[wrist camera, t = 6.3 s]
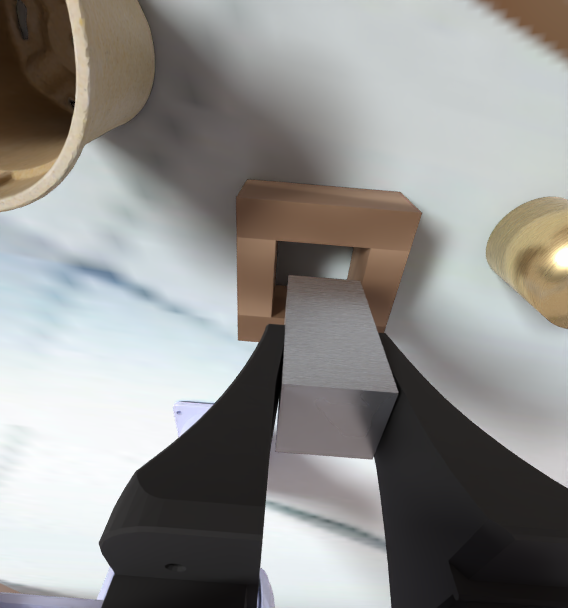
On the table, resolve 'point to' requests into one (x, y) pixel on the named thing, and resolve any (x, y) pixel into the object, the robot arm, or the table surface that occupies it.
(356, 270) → the block
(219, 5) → the table surface
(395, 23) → the table surface
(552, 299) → the round bit
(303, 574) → the table surface
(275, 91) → the table surface
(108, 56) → the flower pot
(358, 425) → the square bit
